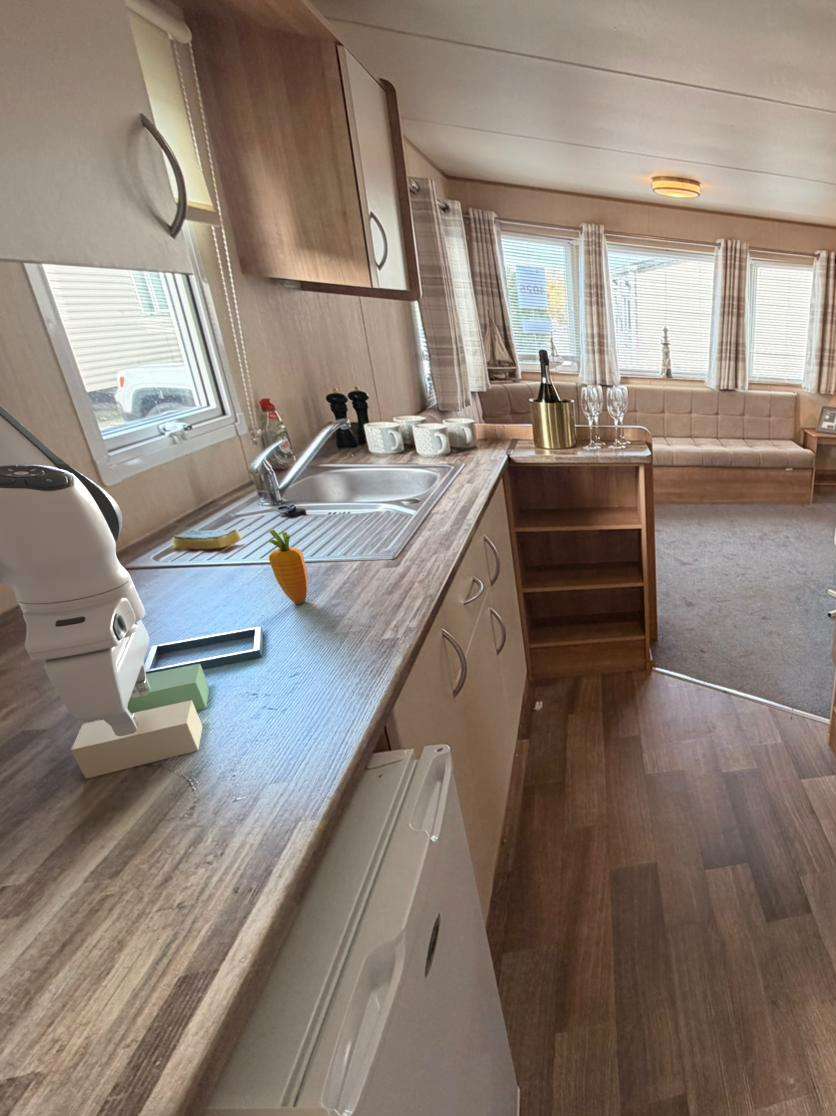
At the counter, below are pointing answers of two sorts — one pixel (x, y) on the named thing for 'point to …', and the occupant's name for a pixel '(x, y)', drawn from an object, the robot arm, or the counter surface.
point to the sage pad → (173, 689)
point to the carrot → (289, 568)
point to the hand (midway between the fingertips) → (135, 712)
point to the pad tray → (202, 641)
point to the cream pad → (138, 740)
